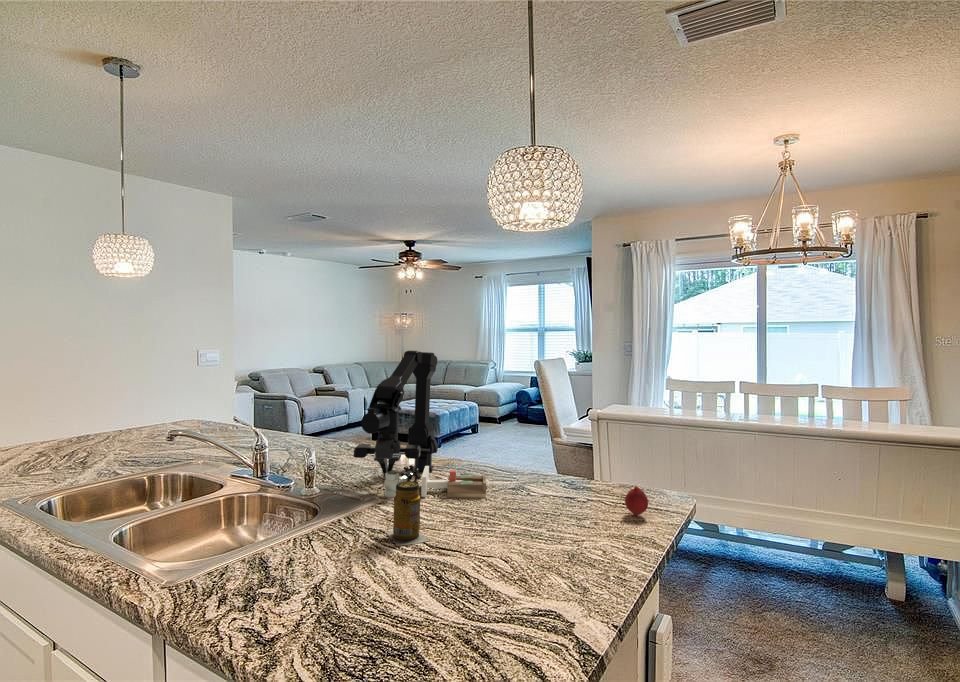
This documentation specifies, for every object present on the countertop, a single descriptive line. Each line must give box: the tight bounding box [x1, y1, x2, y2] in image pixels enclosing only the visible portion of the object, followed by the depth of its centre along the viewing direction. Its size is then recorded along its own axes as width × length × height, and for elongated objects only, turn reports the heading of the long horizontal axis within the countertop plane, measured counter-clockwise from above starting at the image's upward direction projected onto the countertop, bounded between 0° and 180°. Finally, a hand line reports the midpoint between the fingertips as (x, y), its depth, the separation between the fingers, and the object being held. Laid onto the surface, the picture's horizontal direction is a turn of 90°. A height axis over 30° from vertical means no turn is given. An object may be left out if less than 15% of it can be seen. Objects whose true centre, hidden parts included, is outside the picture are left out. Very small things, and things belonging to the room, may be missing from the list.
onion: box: [624, 484, 649, 516], centre depth 134 cm, size 6×6×8 cm
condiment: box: [386, 480, 429, 547], centre depth 117 cm, size 7×8×12 cm
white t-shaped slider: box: [420, 466, 463, 498], centre depth 150 cm, size 12×12×6 cm
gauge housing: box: [446, 473, 487, 499], centre depth 151 cm, size 10×11×4 cm
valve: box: [383, 464, 422, 499], centre depth 149 cm, size 7×7×12 cm
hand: (387, 480), depth 150 cm, fingers closed
